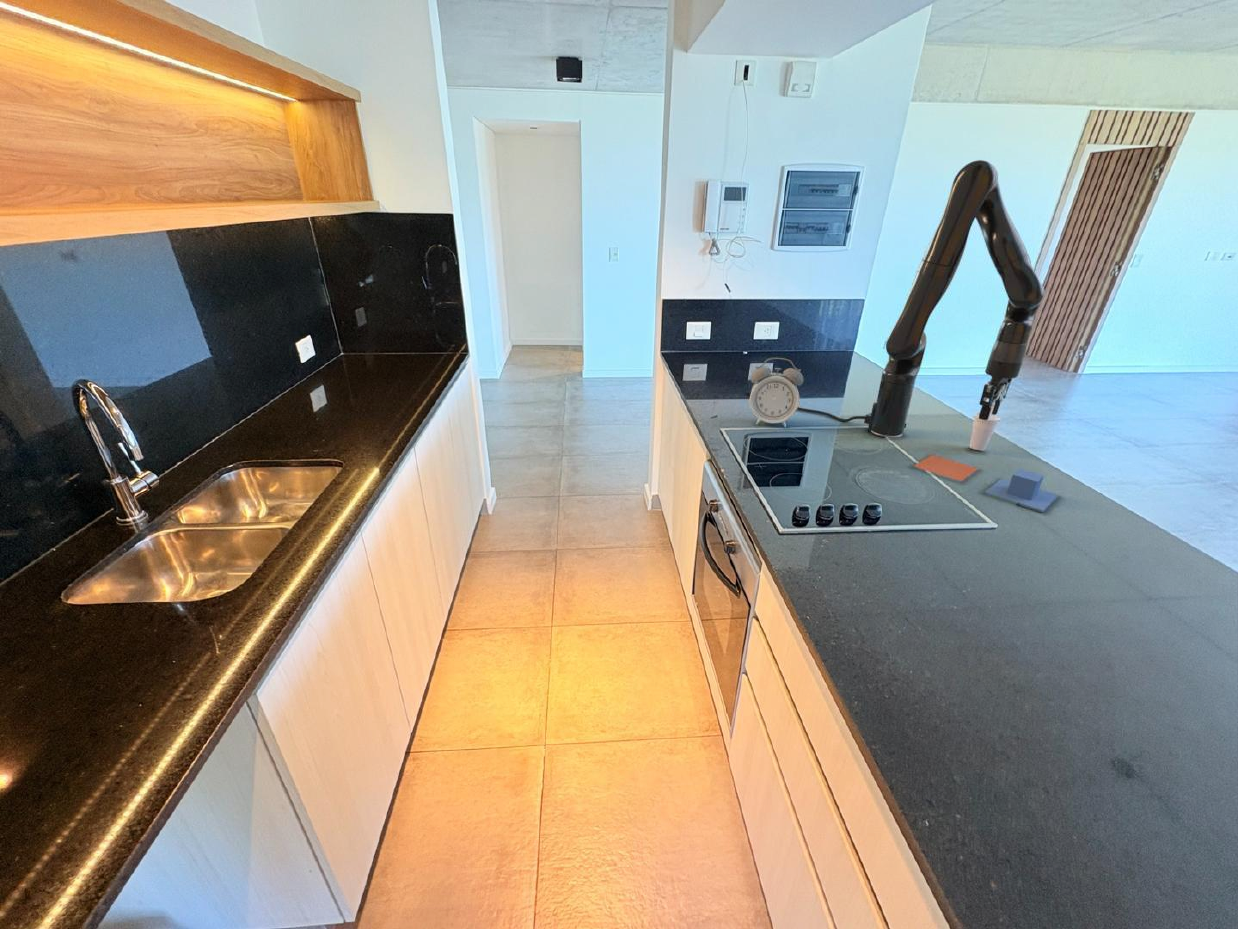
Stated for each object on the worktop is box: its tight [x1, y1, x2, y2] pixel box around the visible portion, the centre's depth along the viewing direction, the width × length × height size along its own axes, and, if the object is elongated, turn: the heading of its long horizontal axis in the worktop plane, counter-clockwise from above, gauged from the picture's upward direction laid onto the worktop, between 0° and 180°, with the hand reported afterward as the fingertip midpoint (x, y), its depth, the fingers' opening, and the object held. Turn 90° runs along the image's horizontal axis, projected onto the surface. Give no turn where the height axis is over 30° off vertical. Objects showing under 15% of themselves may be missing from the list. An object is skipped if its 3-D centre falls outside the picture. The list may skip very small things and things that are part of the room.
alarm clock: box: [749, 357, 804, 428], centre depth 171 cm, size 16×9×22 cm, turn 74°
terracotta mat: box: [913, 454, 979, 482], centre depth 143 cm, size 12×12×1 cm
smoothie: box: [969, 402, 1001, 451], centre depth 150 cm, size 6×6×14 cm
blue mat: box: [984, 478, 1059, 514], centre depth 129 cm, size 12×12×1 cm
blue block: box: [1007, 468, 1045, 500], centre depth 128 cm, size 5×5×5 cm
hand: (987, 416), depth 149 cm, fingers closed on smoothie, 6 cm apart
